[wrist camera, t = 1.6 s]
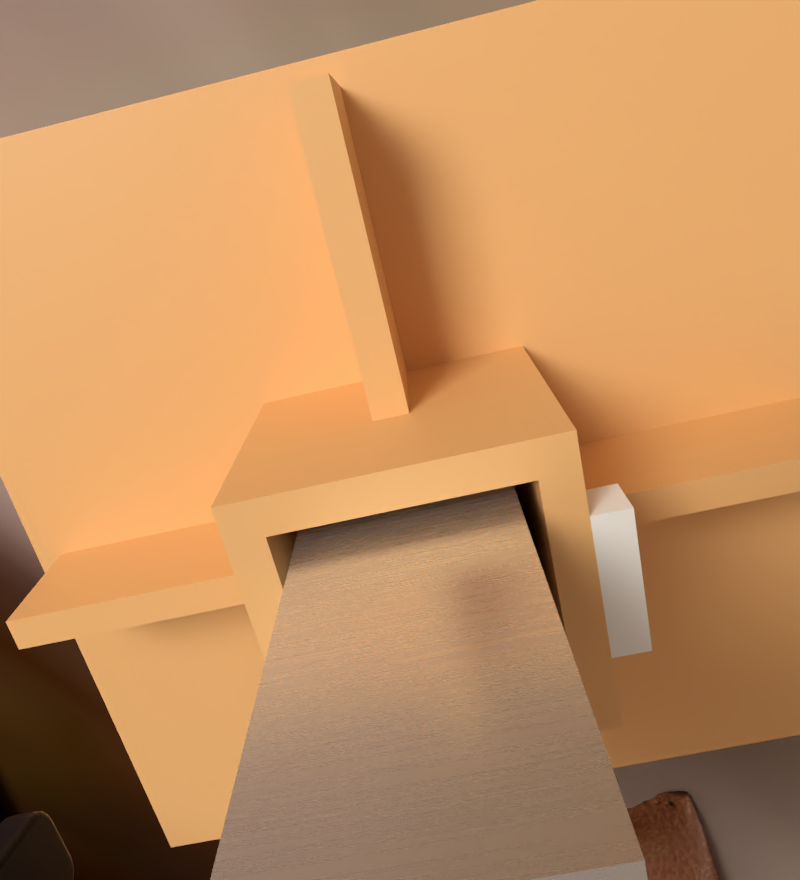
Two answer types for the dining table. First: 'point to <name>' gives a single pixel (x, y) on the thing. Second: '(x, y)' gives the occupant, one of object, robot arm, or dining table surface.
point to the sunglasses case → (672, 838)
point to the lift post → (424, 714)
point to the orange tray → (421, 360)
